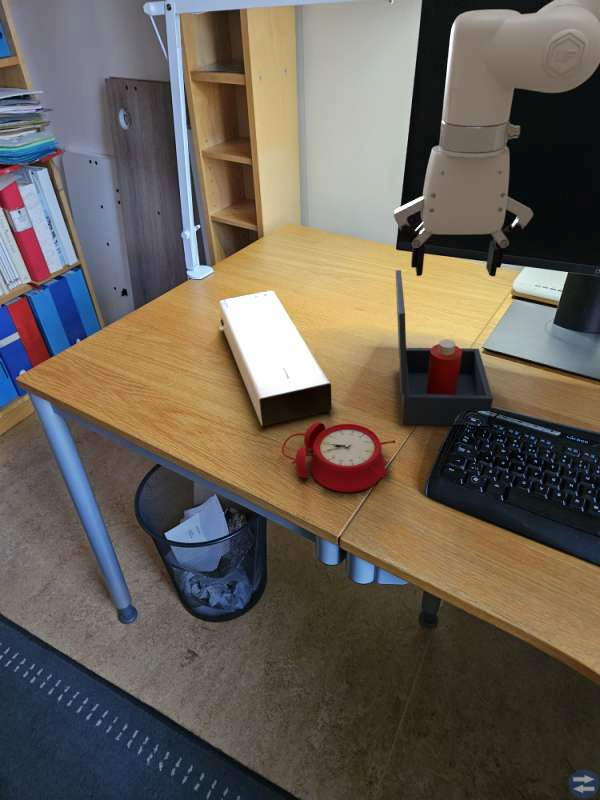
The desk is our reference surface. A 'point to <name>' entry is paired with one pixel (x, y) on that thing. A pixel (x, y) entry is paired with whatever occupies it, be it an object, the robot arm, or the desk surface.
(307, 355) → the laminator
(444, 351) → the ketchup bottle
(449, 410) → the bin
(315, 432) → the alarm clock
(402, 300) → the bin lid
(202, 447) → the desk surface
